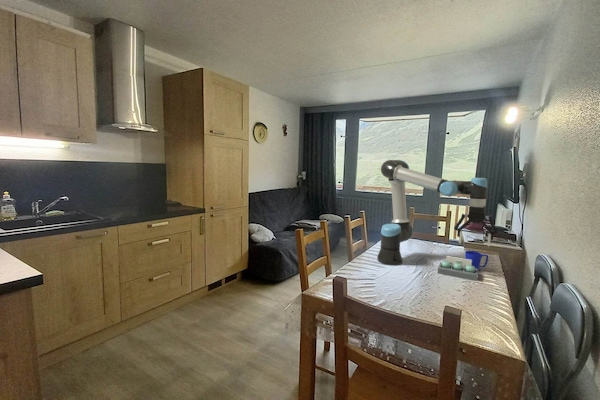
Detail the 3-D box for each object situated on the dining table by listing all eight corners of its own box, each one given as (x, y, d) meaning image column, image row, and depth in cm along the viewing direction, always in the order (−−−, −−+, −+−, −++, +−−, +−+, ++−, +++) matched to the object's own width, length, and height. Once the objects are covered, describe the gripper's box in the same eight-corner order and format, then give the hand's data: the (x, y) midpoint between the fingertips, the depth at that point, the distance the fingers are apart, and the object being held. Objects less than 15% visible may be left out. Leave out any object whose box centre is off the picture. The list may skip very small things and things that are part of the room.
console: (437, 273, 158) (437, 268, 157) (439, 267, 168) (440, 262, 167) (477, 280, 148) (477, 275, 147) (476, 273, 158) (477, 268, 157)
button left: (441, 267, 160) (441, 262, 159) (441, 265, 164) (442, 260, 163) (449, 269, 158) (450, 264, 157) (450, 266, 161) (450, 261, 161)
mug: (490, 272, 159) (491, 256, 158) (466, 271, 162) (468, 254, 160) (483, 267, 167) (485, 251, 166) (461, 266, 170) (463, 250, 168)
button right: (465, 271, 154) (465, 266, 153) (465, 269, 157) (465, 264, 157) (474, 273, 151) (475, 268, 151) (474, 271, 155) (475, 265, 155)
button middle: (452, 269, 157) (453, 264, 156) (453, 267, 160) (453, 262, 160) (461, 271, 154) (462, 266, 154) (462, 268, 158) (462, 263, 158)
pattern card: (445, 267, 167) (446, 256, 166) (445, 267, 168) (446, 255, 167) (470, 272, 160) (471, 260, 159) (470, 271, 161) (471, 259, 160)
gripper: (451, 205, 153) (448, 242, 156) (506, 208, 142) (502, 248, 145) (450, 203, 160) (448, 239, 162) (503, 206, 149) (499, 245, 152)
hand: (473, 244), depth 154 cm, fingers open, 13 cm apart
